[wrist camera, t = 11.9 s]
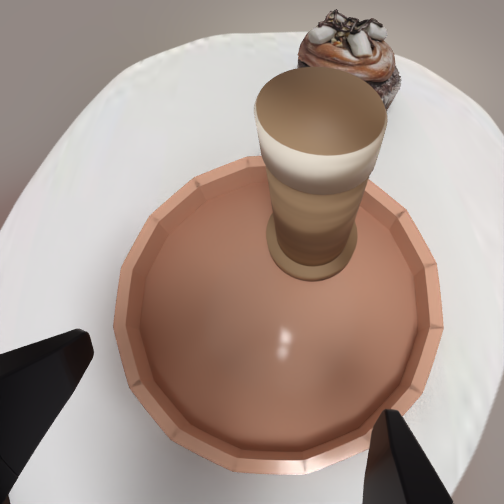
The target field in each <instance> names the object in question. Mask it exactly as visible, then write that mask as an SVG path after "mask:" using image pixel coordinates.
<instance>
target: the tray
mask: <svg viewBox="0 0 504 504" xmlns="http://www.w3.org/2000/svg"><path fill="white" fill-rule="evenodd" d="M272 213H273V210H272V204H271V197H270V191H269V184H268V178H267V172H266V165H265V163H264V161H263V158H262V156H250V157H245V158H242V159H239V160H237V161H234V162H231V163H229V164H226V165H224V166H221V167H219V168H216V169H214V170H211V171H209V172H206V173H204V174H201V175H199V176H196V177H194V178H192V179H191V180H190V181H189V182H188V183H187V184H185V185H184V186H183V187H182V188H181V189H179V190H178V191H177V192H176V193H175V194H174V195H172V196H171V197H170V198H169V199H168V200H167V201H166V202H164V203H163V204H162V205H161V206H160V207H159V208H158V209H157V210H155V211H154V212H153V213H152V214H151V215H150V216H149V218H148V219H147V221H146V223H145V224H144V226H143V228H142V230H141V232H140V233H139V235H138V237H137V239H136V241H135V242H134V244H133V246H132V248H131V250H130V252H129V253H128V255H127V257H126V259H125V261H124V263H123V265H122V267H121V271H120V278H119V285H118V292H117V299H116V307H115V315H114V324H113V328H114V333H115V337H116V341H117V345H118V349H119V353H120V357H121V361H122V364H123V368H124V371H125V375H126V378H127V382H128V385H129V388H130V389H131V391H132V392H133V393H134V395H135V396H136V397H137V399H138V400H139V401H140V403H141V404H142V405H143V407H144V408H145V409H146V410H147V412H148V413H149V414H150V415H151V417H152V418H153V419H154V420H155V422H156V423H157V424H158V425H159V427H160V428H161V429H162V430H163V431H164V433H165V434H166V435H167V436H168V437H169V438H170V440H172V441H174V442H175V443H177V444H179V445H181V446H183V447H184V448H186V449H188V450H190V451H192V452H194V453H196V454H197V455H199V456H201V457H203V458H205V459H207V460H209V461H211V462H213V463H215V464H217V465H220V466H222V467H224V468H226V469H228V470H230V471H232V472H242V473H256V474H278V475H306V474H309V473H312V472H315V471H317V470H320V469H323V468H325V467H328V466H330V465H333V464H335V463H338V462H340V461H343V460H345V459H347V458H350V457H352V456H354V455H356V454H359V453H361V452H363V451H365V450H367V449H369V446H370V439H371V432H372V429H373V426H374V424H375V423H376V421H377V419H378V417H379V416H380V414H381V412H382V411H383V410H384V409H394V410H398V411H399V412H400V414H401V415H402V416H403V415H404V414H405V413H406V412H407V411H408V410H409V408H410V407H411V406H412V405H413V404H414V403H415V401H416V400H417V399H418V398H419V397H420V396H421V394H422V393H423V390H424V388H425V385H426V382H427V379H428V377H429V374H430V371H431V368H432V365H433V362H434V359H435V356H436V352H437V349H438V346H439V342H440V339H441V335H442V332H443V328H444V327H443V314H442V303H441V293H440V285H439V277H438V270H437V263H436V261H435V259H434V257H433V256H432V254H431V252H430V250H429V248H428V246H427V244H426V243H425V241H424V239H423V237H422V235H421V234H420V232H419V230H418V228H417V227H416V225H415V223H414V222H413V220H412V218H411V217H410V215H409V213H408V212H407V210H406V209H405V208H404V207H403V206H401V205H400V204H399V203H398V202H397V201H395V200H394V199H393V198H392V197H390V196H389V195H388V194H387V193H385V192H384V191H383V190H382V189H380V188H379V187H378V186H377V185H375V184H374V183H373V182H372V181H370V180H369V179H368V182H367V185H366V188H365V191H364V194H363V197H362V200H361V203H360V206H359V209H358V212H357V215H356V218H355V223H356V227H357V236H358V238H357V245H356V248H355V251H354V253H353V255H352V257H351V260H350V261H349V263H348V264H347V266H346V267H345V268H344V269H343V270H342V271H341V272H340V273H338V274H337V275H335V276H333V277H331V278H329V279H326V280H323V281H317V282H308V281H302V280H298V279H295V278H293V277H291V276H289V275H287V274H286V273H284V272H283V271H282V270H281V269H280V268H279V267H278V266H277V265H276V264H275V262H274V261H273V259H272V257H271V255H270V252H269V249H268V244H267V239H266V229H267V224H268V221H269V218H270V216H271V214H272Z"/></svg>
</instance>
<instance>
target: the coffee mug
mask: <svg viewBox="0 0 504 504" xmlns="http://www.w3.org/2000/svg"><path fill="white" fill-rule="evenodd" d="M3 504H10V500H9V496H7V497H6V499H5V501H4V503H3Z"/></svg>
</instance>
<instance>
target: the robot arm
mask: <svg viewBox="0 0 504 504" xmlns="http://www.w3.org/2000/svg"><path fill="white" fill-rule="evenodd" d="M93 356H94V350H93V346H92V342H91V339H90V335H89V333H88V332H86V331H84V330H81V329H74V330H71V331H68V332H66V333H63V334H60V335H57V336H54V337H51V338H48V339H45V340H42V341H39V342H36V343H33V344H30V345H27V346H24V347H21V348H18V349H15V350H12V351H9V352H6V353H3V354H0V504H3V503H4V501H5V499H6V497H7V496H8V494H9V492H10V491H11V489H12V487H13V485H14V484H15V482H16V480H17V479H18V476H19V475H20V473H21V472H22V470H23V469H24V467H25V465H26V464H27V462H28V461H29V459H30V457H31V456H32V454H33V453H34V451H35V449H36V448H37V446H38V445H39V443H40V442H41V440H42V439H43V437H44V435H45V434H46V432H47V431H48V429H49V428H50V426H51V425H52V423H53V422H54V420H55V419H56V417H57V416H58V414H59V413H60V411H61V410H62V408H63V407H64V406H65V404H66V403H67V401H68V400H69V398H70V397H71V395H72V394H73V392H74V390H75V389H76V387H77V385H78V383H79V382H80V380H81V378H82V376H83V374H84V373H85V371H86V369H87V367H88V365H89V364H90V362H91V360H92V358H93ZM362 504H453V500H452V499H451V497H450V495H449V493H448V492H447V490H446V488H445V486H444V485H443V483H442V481H441V480H440V478H439V476H438V475H437V473H436V471H435V469H434V468H433V466H432V464H431V463H430V461H429V459H428V458H427V456H426V454H425V453H424V451H423V449H422V448H421V446H420V444H419V443H418V441H417V440H416V438H415V436H414V435H413V433H412V431H411V430H410V428H409V427H408V425H407V423H406V422H405V420H404V419H403V417H402V415H401V414H400V412H399V411H398V410H394V409H384V410H383V411H382V412H381V414H380V416H379V417H378V419H377V421H376V423H375V424H374V426H373V429H372V432H371V439H370V446H369V453H368V459H367V465H366V471H365V478H364V489H363V503H362Z"/></svg>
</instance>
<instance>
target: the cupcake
mask: <svg viewBox="0 0 504 504" xmlns="http://www.w3.org/2000/svg"><path fill="white" fill-rule="evenodd" d="M386 36H387V30H386V29H385V28H384V27H383V25H382V24H380V23H379V22H378V21H377V20H376V19H374V18H371V19H370V20H363V21H361V22H359V19H356V18H351V17H349V18H347V17H345V16H344V15H343V14H341V13H338V10H337V9H336V10H334V11H330V12H329V14H328V15H327V16H326V19H325V21H323V22H319V24H318V26H316V27H315V28H313V29H312V30H311V31H309V32H308V33H307V34H306V36H305V38H304V39H303V41H302V43H301V45H300V48H299V53H298V56H299V57H298V66H297V67H298V68H303V67H327V68H333V69H338V70H341V71H345V72H347V73H350V74H352V75H354V76H356V77H358V78H360V79H362V80H363V81H365V82H366V83H368V84H369V85H370V86H371V87H372V88H373V89H374V90H375V91H376V92H377V93H378V95H379V96H380V98H381V99H382V101H383V104H384V106H385V109H386V111H387V109H388V108H389V106H390V104H391V103H392V101H393V99H394V97H395V95H396V94H397V92H398V90H399V89H400V86H401V79H400V78H401V76H399V72H398V69H397V68H396V66H395V57H394V53H393V51H392V49H391V48H390V47H389V45H388V44H387V43H386V42H385V41H384V39H385V38H386Z"/></svg>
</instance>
